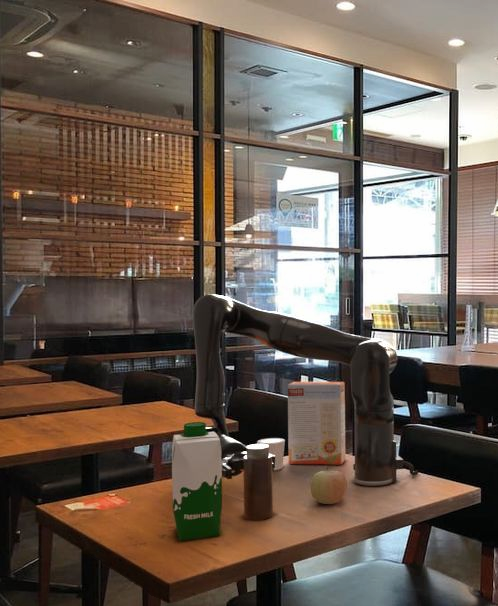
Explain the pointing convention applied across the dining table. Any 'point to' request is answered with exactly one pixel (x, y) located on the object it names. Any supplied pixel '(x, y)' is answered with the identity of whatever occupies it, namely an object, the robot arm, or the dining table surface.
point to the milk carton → (196, 482)
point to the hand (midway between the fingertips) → (250, 471)
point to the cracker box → (316, 423)
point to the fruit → (328, 486)
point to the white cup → (275, 450)
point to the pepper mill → (258, 483)
